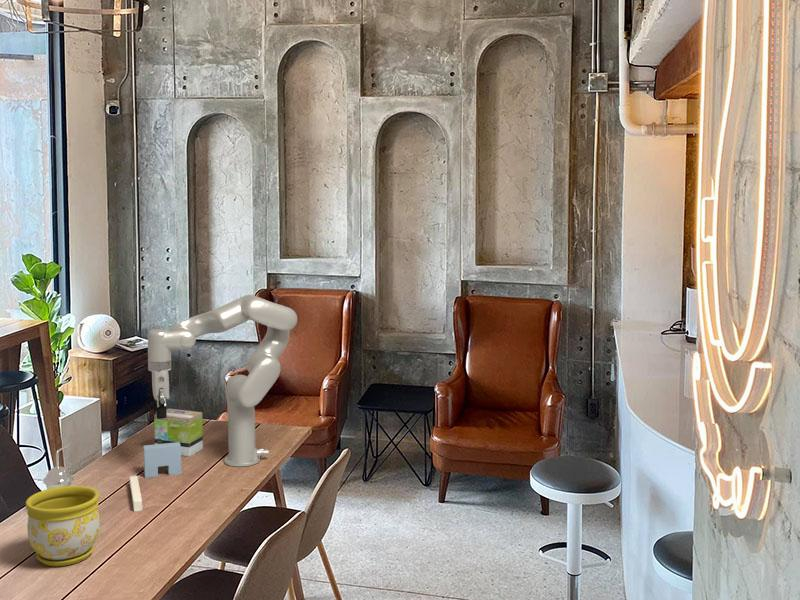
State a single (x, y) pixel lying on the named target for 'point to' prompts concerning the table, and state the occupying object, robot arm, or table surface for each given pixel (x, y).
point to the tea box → (180, 430)
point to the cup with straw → (58, 474)
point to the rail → (135, 493)
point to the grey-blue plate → (162, 458)
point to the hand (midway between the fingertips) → (160, 414)
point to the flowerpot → (63, 524)
